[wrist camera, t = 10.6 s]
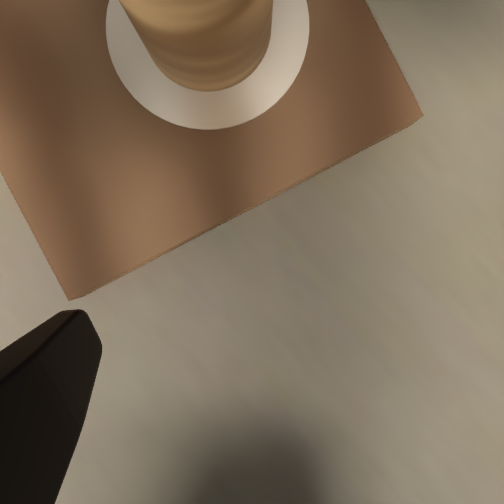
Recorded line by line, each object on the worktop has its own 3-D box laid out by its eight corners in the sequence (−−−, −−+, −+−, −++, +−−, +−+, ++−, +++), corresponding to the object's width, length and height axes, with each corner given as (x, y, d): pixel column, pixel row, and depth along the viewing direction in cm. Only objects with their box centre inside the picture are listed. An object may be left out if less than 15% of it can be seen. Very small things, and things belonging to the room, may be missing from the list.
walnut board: (82, 296, 20) (66, 301, 18) (-47, 50, 20) (-76, 32, 18) (410, 125, 20) (425, 113, 18) (282, -127, 19) (284, -162, 18)
